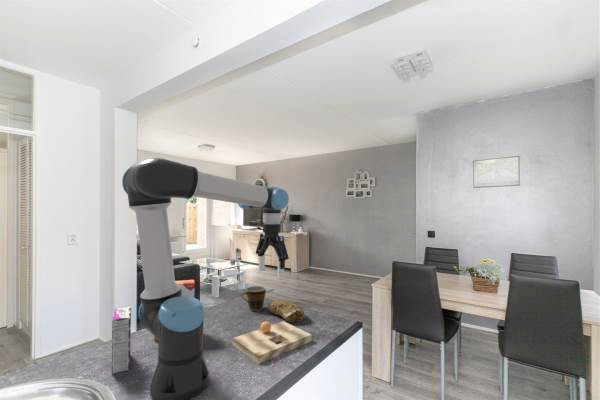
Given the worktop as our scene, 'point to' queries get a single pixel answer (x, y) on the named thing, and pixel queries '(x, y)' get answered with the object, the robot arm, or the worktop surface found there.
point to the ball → (265, 327)
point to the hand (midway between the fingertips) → (270, 273)
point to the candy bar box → (121, 340)
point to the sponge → (287, 310)
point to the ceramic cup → (255, 297)
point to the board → (271, 341)
